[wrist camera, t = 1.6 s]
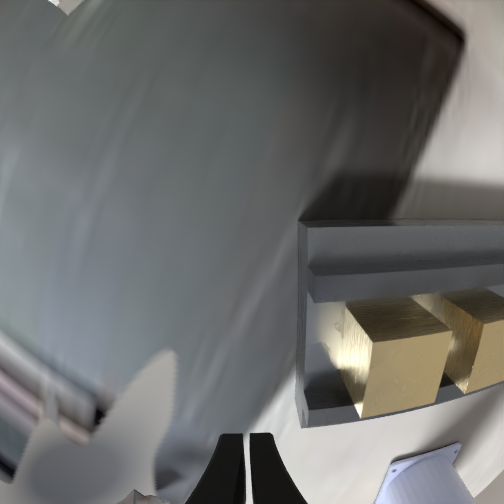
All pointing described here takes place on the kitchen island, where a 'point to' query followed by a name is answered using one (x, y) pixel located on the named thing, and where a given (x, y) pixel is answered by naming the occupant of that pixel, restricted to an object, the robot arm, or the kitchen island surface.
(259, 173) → the kitchen island surface
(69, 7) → the skyscraper
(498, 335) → the chip
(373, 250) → the slot block
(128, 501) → the wrench
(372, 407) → the wooden cube
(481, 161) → the kitchen island surface
